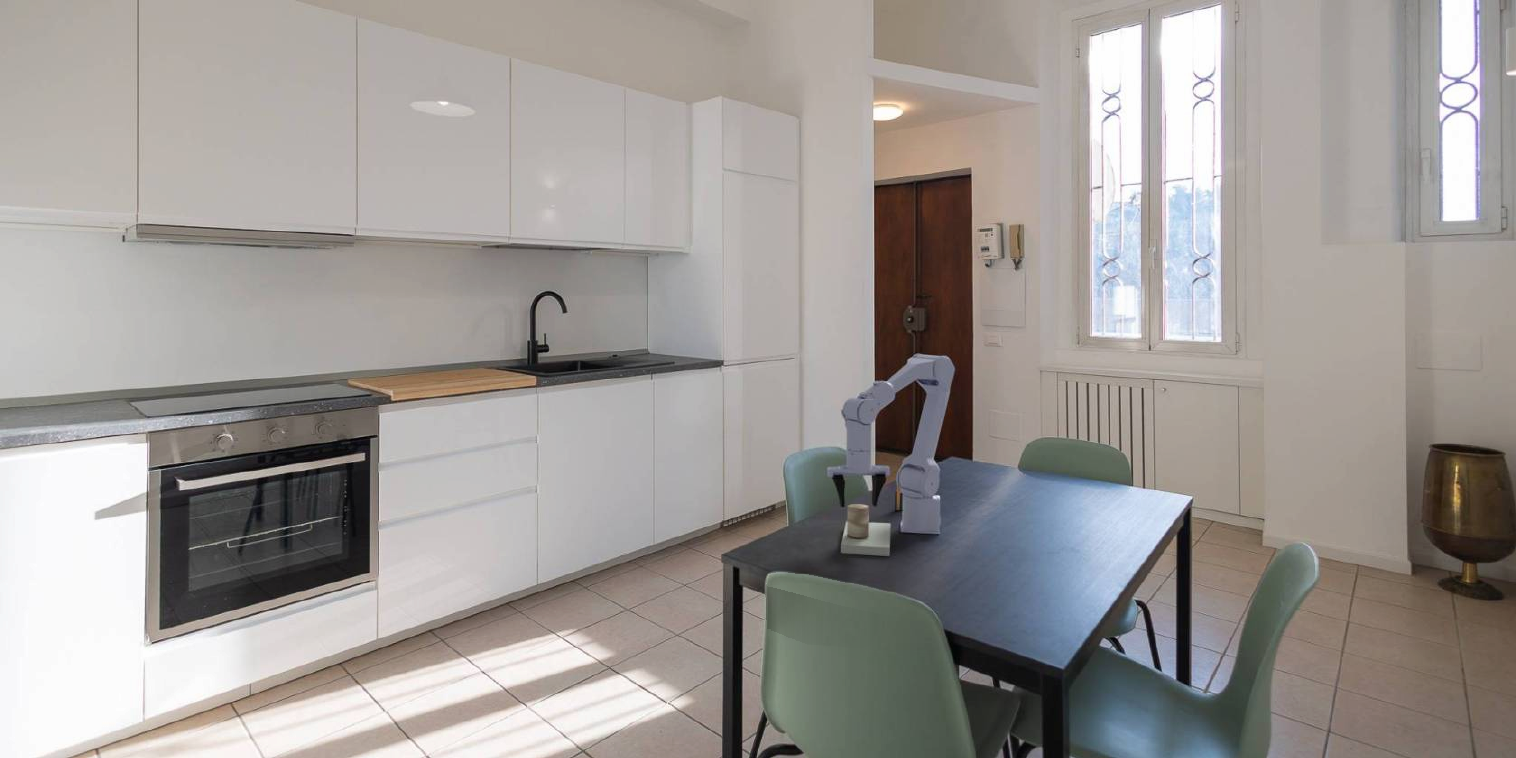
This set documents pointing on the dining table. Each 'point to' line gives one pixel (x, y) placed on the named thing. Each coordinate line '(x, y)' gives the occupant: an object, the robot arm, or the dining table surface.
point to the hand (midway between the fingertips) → (858, 505)
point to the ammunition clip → (899, 499)
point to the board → (869, 541)
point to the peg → (858, 521)
